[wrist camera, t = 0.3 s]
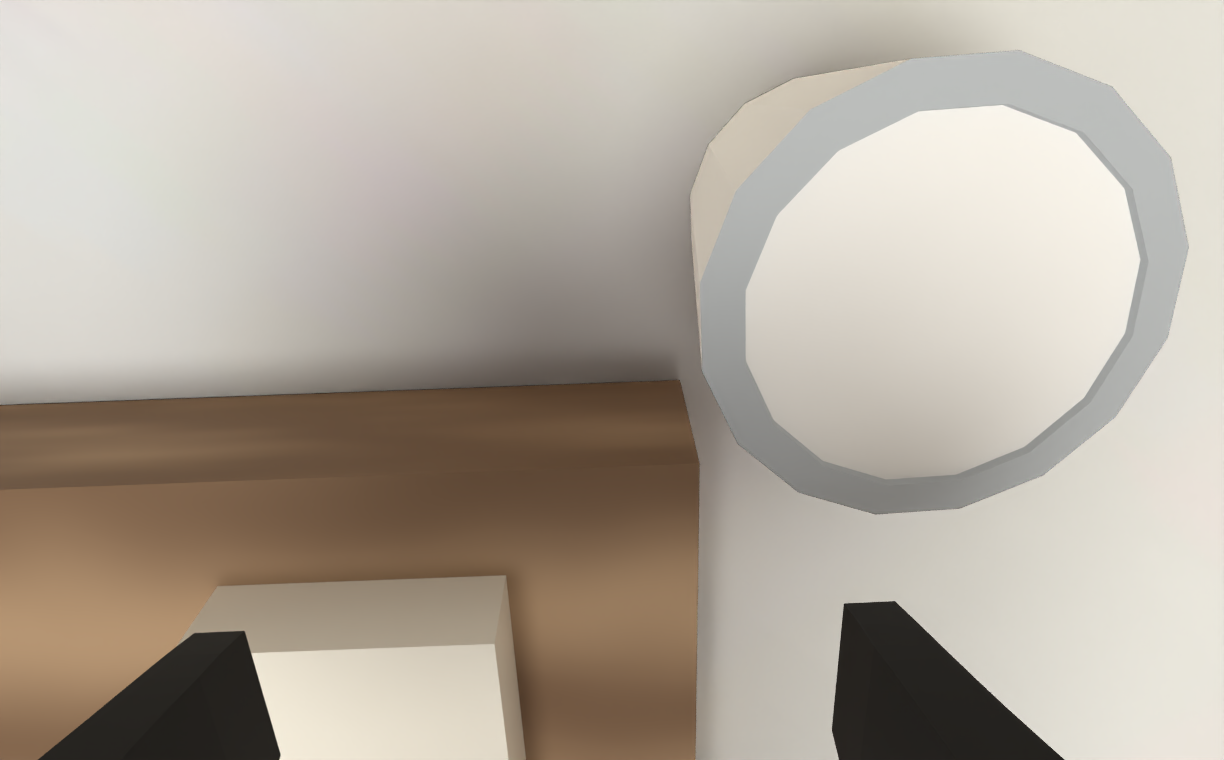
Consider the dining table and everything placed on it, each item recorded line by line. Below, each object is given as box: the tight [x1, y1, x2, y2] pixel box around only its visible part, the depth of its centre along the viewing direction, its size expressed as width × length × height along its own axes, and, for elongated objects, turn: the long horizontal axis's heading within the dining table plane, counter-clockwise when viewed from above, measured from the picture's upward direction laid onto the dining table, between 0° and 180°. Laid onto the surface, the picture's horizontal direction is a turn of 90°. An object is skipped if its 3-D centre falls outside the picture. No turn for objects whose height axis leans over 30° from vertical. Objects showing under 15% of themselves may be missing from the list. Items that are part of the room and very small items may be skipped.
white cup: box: [690, 50, 1189, 514], centre depth 14 cm, size 7×7×7 cm
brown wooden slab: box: [0, 380, 699, 760], centre depth 20 cm, size 14×18×4 cm
